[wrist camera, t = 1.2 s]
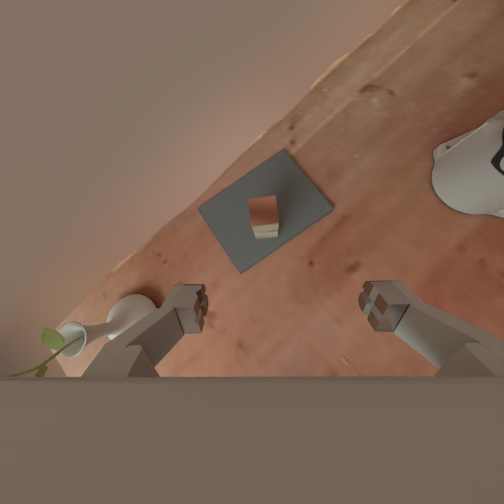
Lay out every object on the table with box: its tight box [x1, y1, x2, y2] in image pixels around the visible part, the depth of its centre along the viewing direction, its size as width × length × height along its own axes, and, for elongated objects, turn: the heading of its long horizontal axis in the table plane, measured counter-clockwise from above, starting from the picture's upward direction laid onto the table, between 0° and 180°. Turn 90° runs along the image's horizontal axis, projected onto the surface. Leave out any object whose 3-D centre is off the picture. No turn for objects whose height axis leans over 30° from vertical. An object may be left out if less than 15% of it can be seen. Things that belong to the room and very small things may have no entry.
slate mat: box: [198, 149, 334, 274], centre depth 40 cm, size 24×18×1 cm
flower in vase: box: [7, 294, 157, 377], centre depth 28 cm, size 13×11×25 cm
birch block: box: [248, 195, 279, 239], centre depth 34 cm, size 4×4×10 cm
